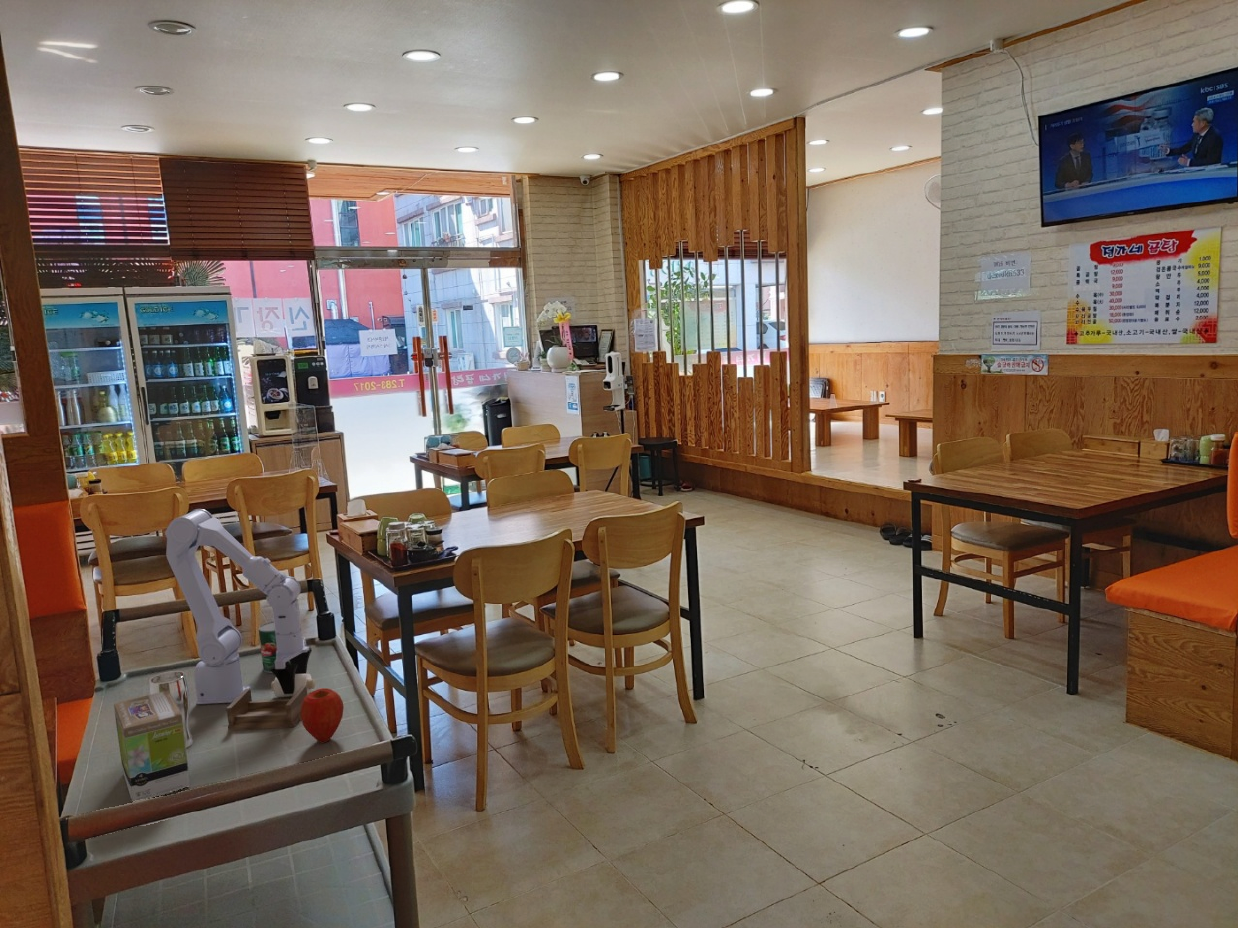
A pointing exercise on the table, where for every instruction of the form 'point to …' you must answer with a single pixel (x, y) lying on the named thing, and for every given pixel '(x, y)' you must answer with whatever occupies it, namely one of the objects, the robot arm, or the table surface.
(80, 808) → the table surface
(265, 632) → the canned tomato
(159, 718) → the tea box
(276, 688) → the roll
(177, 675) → the beer glass
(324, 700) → the apple
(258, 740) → the table surface
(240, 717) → the holder
